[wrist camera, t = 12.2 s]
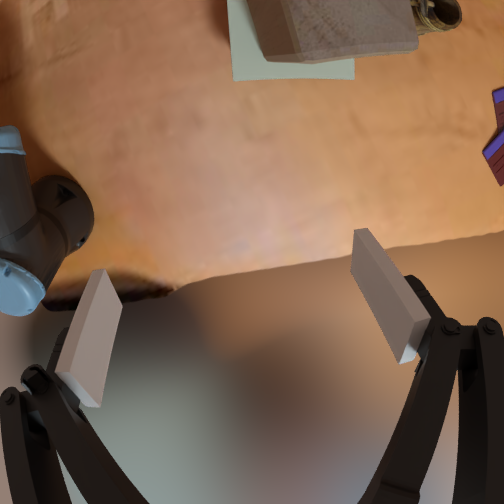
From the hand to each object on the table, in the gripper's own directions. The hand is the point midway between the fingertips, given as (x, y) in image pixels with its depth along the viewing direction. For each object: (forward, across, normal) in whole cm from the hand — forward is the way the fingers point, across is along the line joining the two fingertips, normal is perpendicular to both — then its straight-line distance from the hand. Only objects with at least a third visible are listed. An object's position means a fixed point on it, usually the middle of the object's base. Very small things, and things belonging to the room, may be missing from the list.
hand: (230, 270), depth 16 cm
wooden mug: (+36, +30, +19) cm, 50 cm away
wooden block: (+29, +11, +15) cm, 34 cm away
